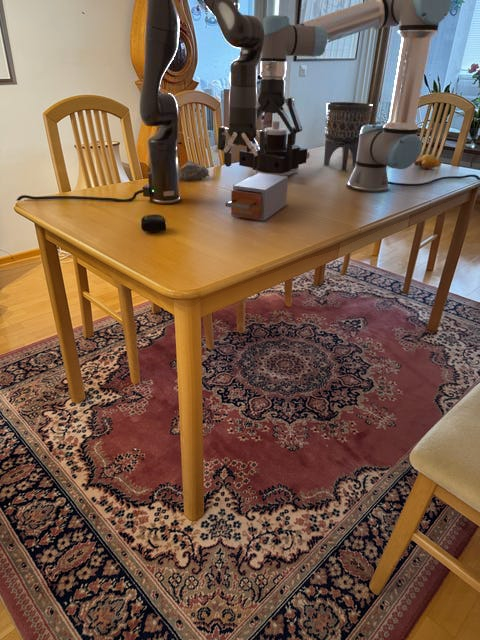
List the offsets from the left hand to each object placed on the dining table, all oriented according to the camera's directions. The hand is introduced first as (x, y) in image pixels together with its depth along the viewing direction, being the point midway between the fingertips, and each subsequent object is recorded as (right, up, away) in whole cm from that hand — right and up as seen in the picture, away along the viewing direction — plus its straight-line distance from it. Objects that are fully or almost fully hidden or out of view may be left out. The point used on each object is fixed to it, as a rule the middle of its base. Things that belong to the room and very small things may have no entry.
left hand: (241, 167), depth 129 cm
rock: (-19, +14, +55) cm, 60 cm away
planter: (+47, +28, +82) cm, 98 cm away
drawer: (+4, -9, +15) cm, 18 cm away
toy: (+87, +28, +84) cm, 124 cm away
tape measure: (-25, -18, 0) cm, 31 cm away
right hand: (+9, +10, +16) cm, 21 cm away
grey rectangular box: (+6, -7, +20) cm, 22 cm away
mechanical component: (+17, +20, +68) cm, 73 cm away
